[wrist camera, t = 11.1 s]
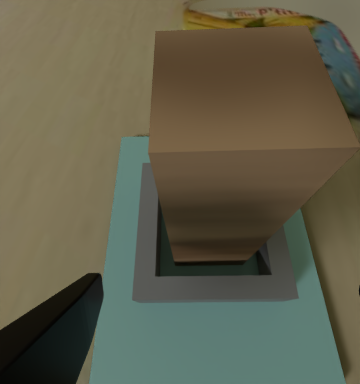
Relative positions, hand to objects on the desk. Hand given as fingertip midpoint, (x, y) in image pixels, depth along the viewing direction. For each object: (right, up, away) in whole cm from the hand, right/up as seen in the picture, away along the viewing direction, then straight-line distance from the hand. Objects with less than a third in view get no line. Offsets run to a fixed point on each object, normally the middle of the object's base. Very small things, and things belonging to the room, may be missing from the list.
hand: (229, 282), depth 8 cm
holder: (0, 0, +10) cm, 10 cm away
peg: (0, 0, +9) cm, 9 cm away
